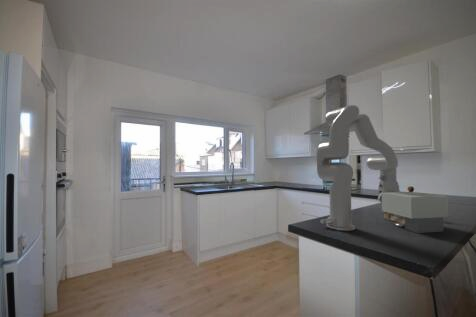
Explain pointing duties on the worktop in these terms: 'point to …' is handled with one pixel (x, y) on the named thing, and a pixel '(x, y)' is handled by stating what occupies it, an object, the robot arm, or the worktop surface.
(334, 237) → the worktop surface
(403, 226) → the grey shiny disc
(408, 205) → the grey block
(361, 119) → the robot arm
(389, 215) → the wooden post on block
